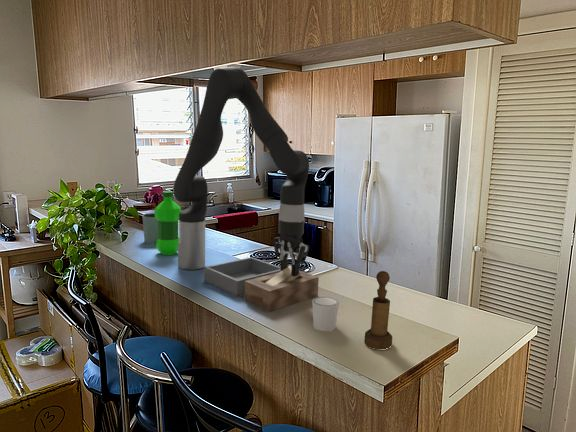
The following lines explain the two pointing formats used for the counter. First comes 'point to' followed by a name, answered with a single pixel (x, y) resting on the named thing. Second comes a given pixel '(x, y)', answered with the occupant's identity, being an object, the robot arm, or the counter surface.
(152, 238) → the drinking glass
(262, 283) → the walnut pocket board
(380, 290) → the brown wooden tall figure
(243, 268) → the charcoal tray
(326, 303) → the white cup
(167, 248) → the plastic bottle
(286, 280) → the maple bar
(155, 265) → the counter surface
